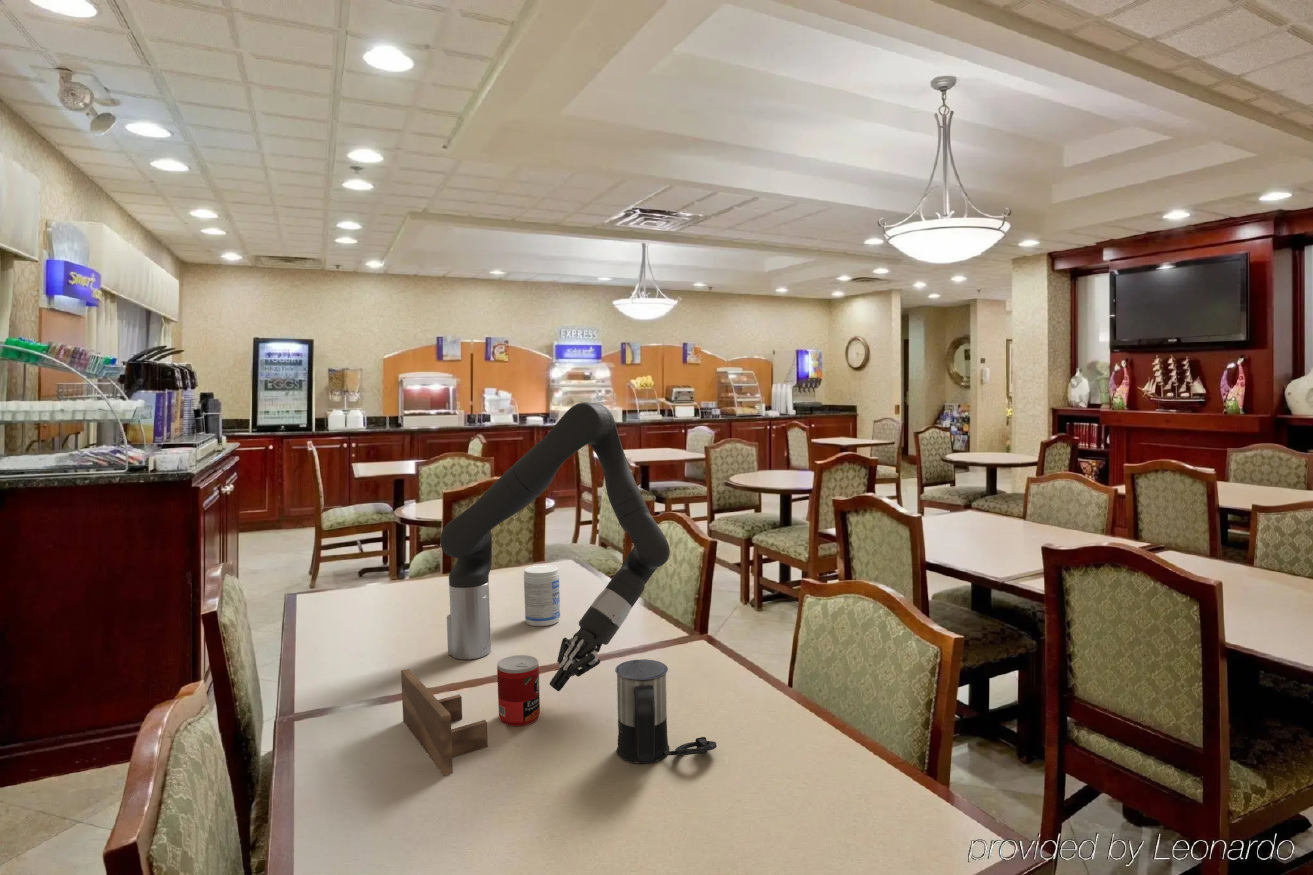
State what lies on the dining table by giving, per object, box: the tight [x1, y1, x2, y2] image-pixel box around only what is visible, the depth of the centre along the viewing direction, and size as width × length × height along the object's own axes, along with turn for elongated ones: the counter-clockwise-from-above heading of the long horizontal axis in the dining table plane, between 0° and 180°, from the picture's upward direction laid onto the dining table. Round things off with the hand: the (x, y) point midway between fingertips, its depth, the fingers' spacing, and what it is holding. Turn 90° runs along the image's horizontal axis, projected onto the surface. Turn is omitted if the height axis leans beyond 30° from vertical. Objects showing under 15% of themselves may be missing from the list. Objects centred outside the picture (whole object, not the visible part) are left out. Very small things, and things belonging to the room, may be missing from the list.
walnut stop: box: [400, 668, 489, 776], centre depth 129 cm, size 10×24×10 cm, turn 35°
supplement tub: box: [523, 564, 561, 627], centre depth 194 cm, size 10×10×15 cm
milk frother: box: [614, 658, 717, 764], centre depth 122 cm, size 14×16×15 cm
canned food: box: [496, 654, 541, 727], centre depth 137 cm, size 8×8×11 cm
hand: (553, 688), depth 141 cm, fingers closed
